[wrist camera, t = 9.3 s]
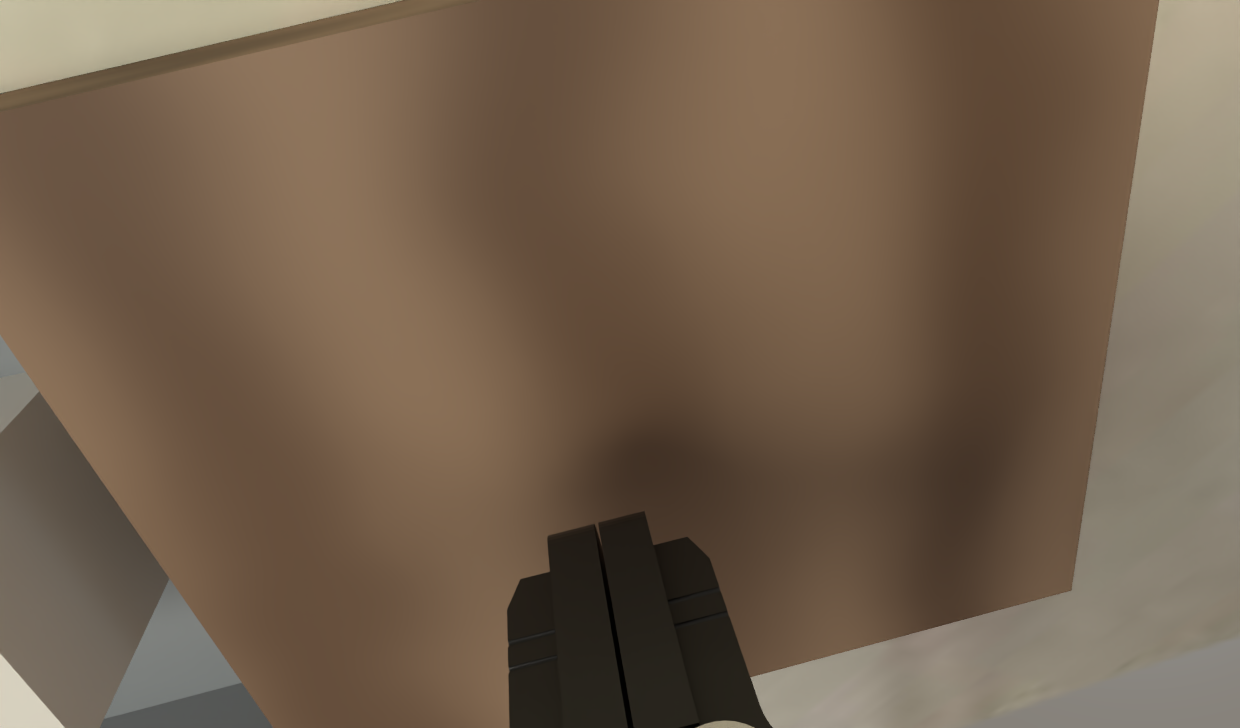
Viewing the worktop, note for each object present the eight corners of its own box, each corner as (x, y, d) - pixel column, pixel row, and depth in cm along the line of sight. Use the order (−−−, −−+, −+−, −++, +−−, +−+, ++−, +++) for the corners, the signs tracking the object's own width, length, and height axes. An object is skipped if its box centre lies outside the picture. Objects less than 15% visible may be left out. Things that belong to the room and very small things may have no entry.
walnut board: (1029, -145, 14) (1183, -163, 11) (987, 496, 21) (1071, 590, 18) (7, 92, 13) (-134, 143, 10) (342, 667, 21) (319, 794, 18)
